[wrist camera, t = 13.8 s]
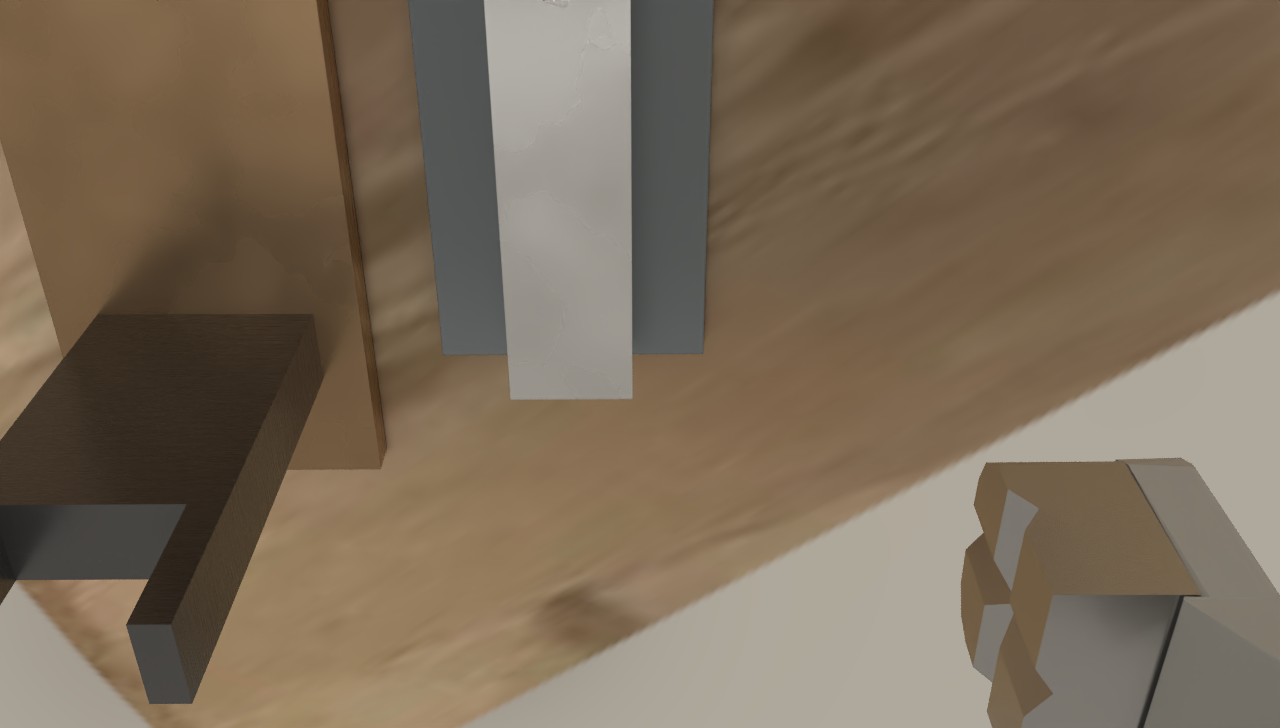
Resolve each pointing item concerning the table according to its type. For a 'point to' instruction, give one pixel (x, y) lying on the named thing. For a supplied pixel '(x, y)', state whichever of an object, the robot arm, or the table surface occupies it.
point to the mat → (660, 172)
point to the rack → (180, 299)
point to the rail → (564, 193)
